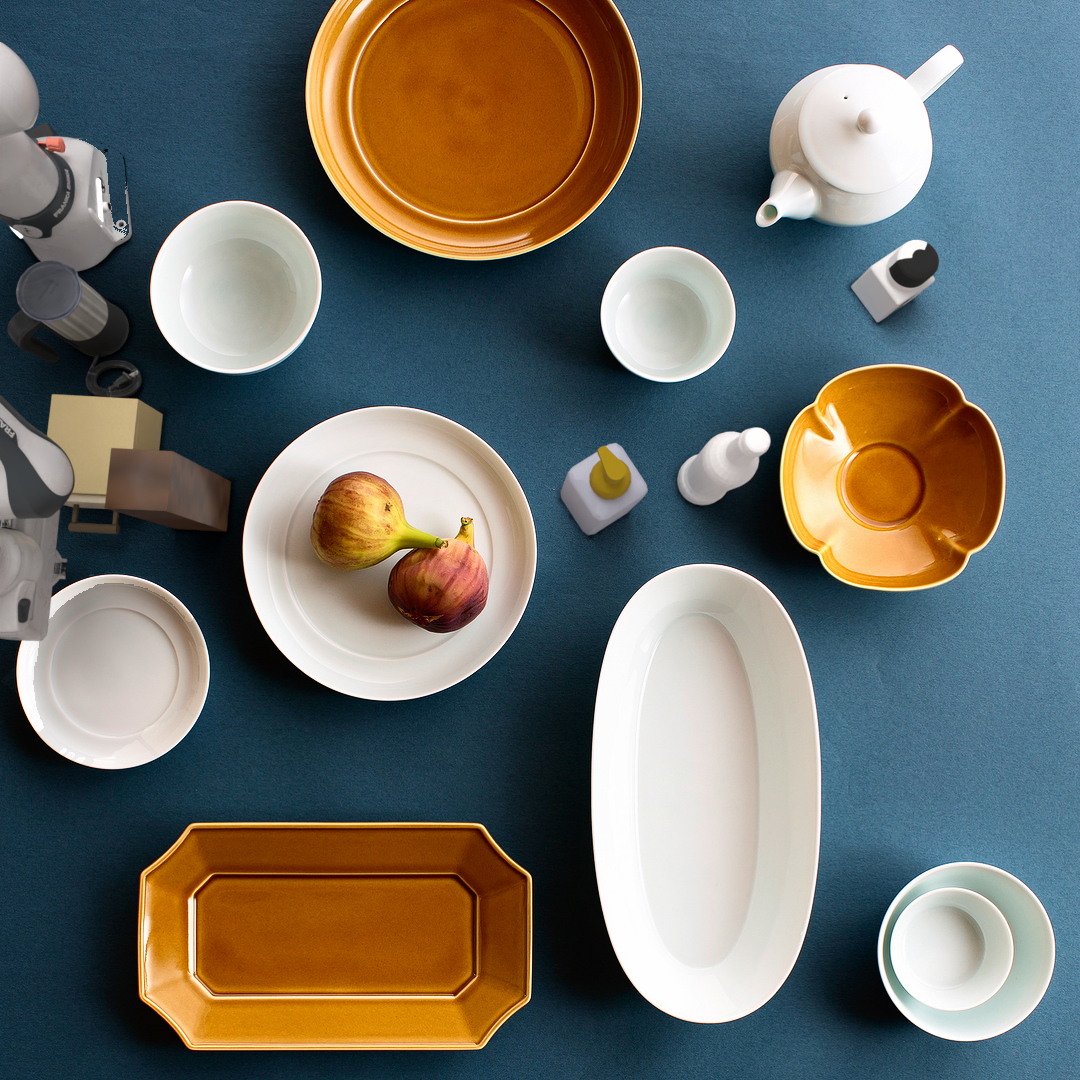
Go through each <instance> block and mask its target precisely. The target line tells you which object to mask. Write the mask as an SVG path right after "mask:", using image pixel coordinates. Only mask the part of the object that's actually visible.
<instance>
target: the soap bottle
mask: <svg viewBox="0 0 1080 1080" xmlns="http://www.w3.org/2000/svg"><path fill="white" fill-rule="evenodd" d="M648 491H649V490H648V485H647V483H646V481H645V480H644V478H643V477H642V475H641V473H640V471H638V469H637V468H636V466H635V465H634V462H633V461H632V460H631V458H630V457H629V455H628V454H627V452H626V451H625V450H624V448H623V446H621V445H620V444H618V443H617V442H614V443H608V444H606V445H603V446H600V447H599V448H598V449H597V450H596V451H595V452H594V453H592V454H591V455H589V456H588V457H586V458H584V459H583V460H581V461H580V462H578V463H577V464H575V465H573V466H572V467H570V469H569V470H568V472H567V473H566V476H565V479H564V482H563V484H562V487H561V489H560V492H559V494H560V498H561V500H562V502H563V503H564V505H565V506H566V508H567V510H568V511H569V512H570V514H571V516H572V518H573V519H574V521H575V522H576V524H577V525H578V526H579V528H580V530H581V531H582V532H583V533H584V534H585V535H587V536H591V535H596V534H597V533H598V532H600V531H601V530H603V529H605V528H606V527H608V526H609V525H611V524H613V523H614V522H615V521H617V520H619V519H620V518H622V517H623V516H625V515H627V514H628V513H629V512H630V511H631V510H633V508H634V507H635V506H636V505H637V504H638V503H639V502H640V501H642V499H643V498H645V496H646V494H647V493H648Z"/></svg>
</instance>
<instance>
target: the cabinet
mask: <svg viewBox="0 0 1080 1080" xmlns="http://www.w3.org/2000/svg"><path fill="white" fill-rule="evenodd" d="M163 416H164V414H163V413H161V412H160V411H158V410H156V409H155V408H153V407H152V406H150V405H149V404H147V403H145V402H143V400H140V399H138V398H129V397H124V398H111V397H98V396H91V395H75V394H74V395H73V394H72V395H71V394H58V393H57V394H55V393H53V394H51V399H50V408H49V416H48V424H47V433H46V436H48V437H49V438H51V439H52V440H53V441H54V442H55V443H57V444H58V445H59V446H60V447H61V448H62V449H63V450H64V452H65V453H66V454H67V456H68V458H69V459H70V461H71V464H72V467H73V470H74V475H75V485H74V489H73V491H72V493H71V494H89V495H106V491H107V482H108V473H109V463H110V454H111V448H123V449H141V450H160V447H161V446H160V445H161V436H162V427H163V426H162V425H163V418H164V417H163Z"/></svg>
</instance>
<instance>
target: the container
mask: <svg viewBox="0 0 1080 1080" xmlns="http://www.w3.org/2000/svg"><path fill="white" fill-rule="evenodd" d="M939 265H940V258H939V254H938V252H937V250H936V249H935V247H934V246H933V245H931V244H930V243H929V242H927V241H925V240H921V239H912V240H908V241H906V242H904V243H903V244H902V245H900V246H899V247H897V248H896V249H894V250H893V251H891V252H890V253H888V254H887V255H886V256H884V257H882V258H881V259H879V260H878V261H876V262H875V263H874V264H872V265H870V266H869V267H868V268H867V270H865V271H864V272H863V273H862V274H861V275H860V276H859V277H858V279H856V280H855V281H854V282H853V283H852V285H851V286H850V288H851V289H852V291H853V292H854V294H855V295H856V297H857V298H858V299H859V300H860V302H861V303H862V305H863V306H864V307H865V309H866V310H867V311H868V312H869V314H870V316H871V317H872V318H873V320H874V321H875V322H876V323H880V322H881V321H883V320H884V319H886V318H887V317H889V316H890V315H892V314H893V313H894V312H896V311H897V310H899V309H901V308H902V307H904V306H905V305H907V304H908V303H910V302H911V301H913V299H915V298H916V297H917V296H919V295H920V294H921V293H922V292H924V291H925V290H926V289H928V288H929V287H930V286H931V285H933V283H934V282H935V281H936V278H935V277H934V275H935V274H936V273H937V271H938V269H939Z"/></svg>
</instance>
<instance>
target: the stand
mask: <svg viewBox="0 0 1080 1080" xmlns="http://www.w3.org/2000/svg"><path fill="white" fill-rule="evenodd" d="M231 488H232V481H230V480H229V479H227V478H225V477H223V476H222V475H219V474H217V473H216V472H214V471H211V470H210V469H208V468H205V467H204V466H202V465H200V464H198V463H196V462H195V461H193V460H190V459H188V458H187V457H185V456H183V455H181V454H179V453H178V452H175V451H173V450H160V449H159V450H141V449H123V448H111V454H110V463H109V473H108V482H107V491H106V500H105V508H106V509H105V510H110V511H112V512H114V511H116V512H119V514H122V515H123V514H124V515H126V516H131V517H133V518H137V519H139V520H143V521H147V522H150V523H154V524H156V525H161V526H164V527H167V528H170V529H174V530H187V531H207V532H225V533H226V532H228V531H227V530H228V523H229V522H228V521H229V511H230V501H231V490H232V489H231Z"/></svg>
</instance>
